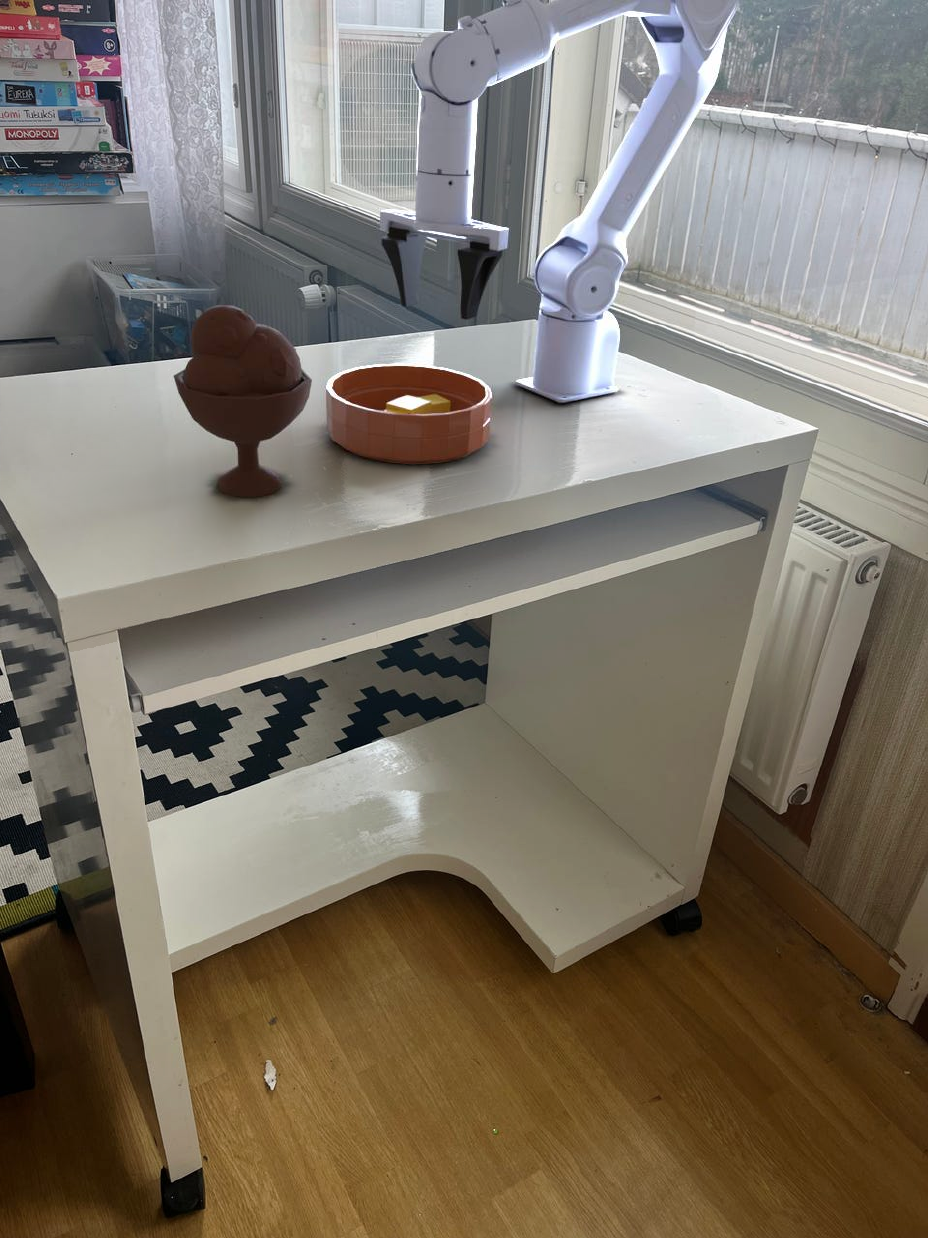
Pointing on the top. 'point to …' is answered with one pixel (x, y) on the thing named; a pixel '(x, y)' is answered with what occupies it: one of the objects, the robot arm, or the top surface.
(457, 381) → the bowl
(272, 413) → the ice cream bowl
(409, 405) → the yellow banana
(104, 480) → the top surface
